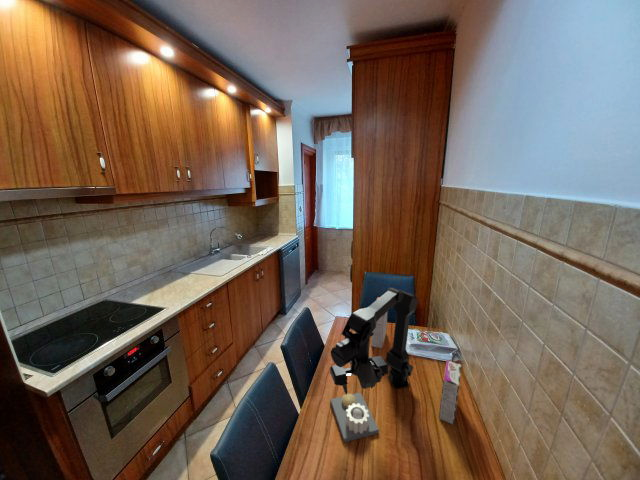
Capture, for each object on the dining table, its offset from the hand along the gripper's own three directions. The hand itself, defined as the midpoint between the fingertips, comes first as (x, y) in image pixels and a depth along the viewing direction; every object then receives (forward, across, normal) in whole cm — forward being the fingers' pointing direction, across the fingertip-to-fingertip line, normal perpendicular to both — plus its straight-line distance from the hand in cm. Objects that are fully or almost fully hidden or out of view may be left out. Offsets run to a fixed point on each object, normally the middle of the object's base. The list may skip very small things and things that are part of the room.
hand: (358, 390), depth 83 cm
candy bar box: (+12, +32, -6) cm, 35 cm away
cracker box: (+12, +28, +38) cm, 48 cm away
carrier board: (+12, -1, +1) cm, 12 cm away
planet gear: (+10, -2, -3) cm, 11 cm away
